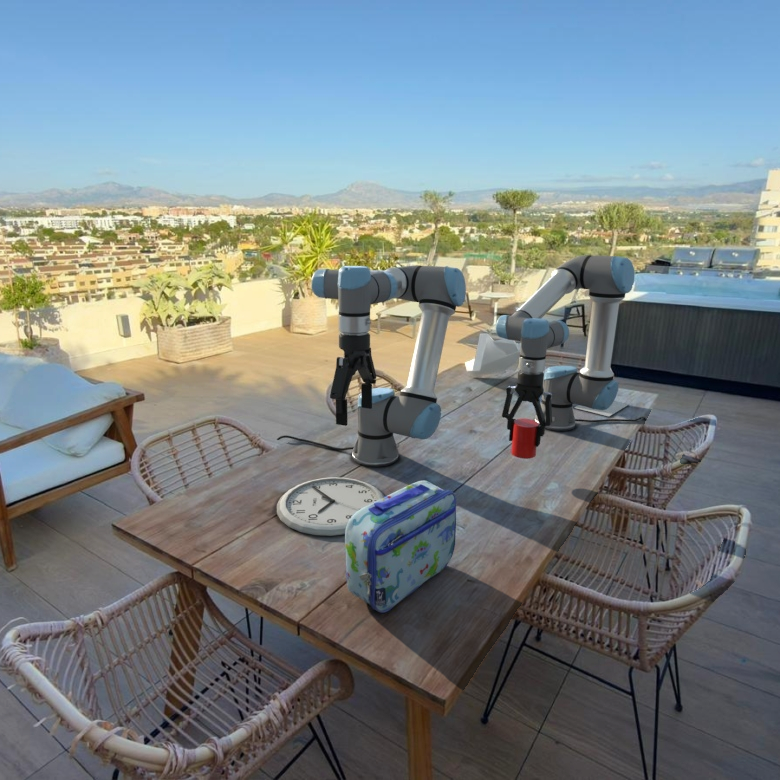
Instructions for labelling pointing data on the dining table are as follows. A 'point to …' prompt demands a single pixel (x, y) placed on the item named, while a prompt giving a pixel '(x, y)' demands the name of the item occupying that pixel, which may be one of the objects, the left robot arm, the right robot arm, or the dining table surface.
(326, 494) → the wall clock
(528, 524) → the dining table surface
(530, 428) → the red cylinder
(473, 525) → the dining table surface
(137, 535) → the dining table surface
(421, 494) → the lunch box
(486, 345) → the white plastic object
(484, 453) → the dining table surface
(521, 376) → the right robot arm
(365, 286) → the left robot arm
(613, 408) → the invitation card
